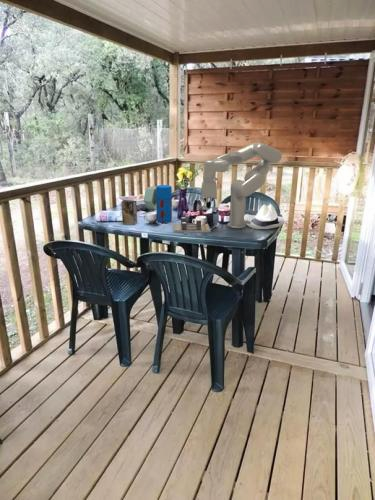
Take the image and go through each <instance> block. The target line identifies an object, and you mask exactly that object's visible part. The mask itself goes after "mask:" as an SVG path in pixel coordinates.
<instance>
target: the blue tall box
mask: <svg viewBox="0 0 375 500" xmlns="http://www.w3.org/2000/svg"><path fill="white" fill-rule="evenodd" d="M172 190H173V189H172V185H169V184H159V185H156V205H157V210H156V222H157V223H159V224H168V223H171V222H172V219H173V205H172V203H173V197H172V196H173V193H172V192H173V191H172Z"/></svg>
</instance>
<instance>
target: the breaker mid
mask: <svg viewBox="0 0 375 500" xmlns="http://www.w3.org/2000/svg"><path fill="white" fill-rule="evenodd" d="M195 223H196V226H197V227H201V223H202V220H201V219H196V221H195Z"/></svg>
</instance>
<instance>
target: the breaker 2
mask: <svg viewBox="0 0 375 500" xmlns="http://www.w3.org/2000/svg"><path fill="white" fill-rule="evenodd" d="M182 229H187V222H182Z"/></svg>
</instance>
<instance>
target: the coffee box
mask: <svg viewBox="0 0 375 500" xmlns="http://www.w3.org/2000/svg"><path fill="white" fill-rule="evenodd" d="M120 203H121V215H122V217H121V218H122V225H129V226H130V225H131V226H135V225H137V224H138V212H137V211H138V209H137V208H138V206H137V200H132V199H124V200H122V201H121V202H120Z"/></svg>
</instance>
